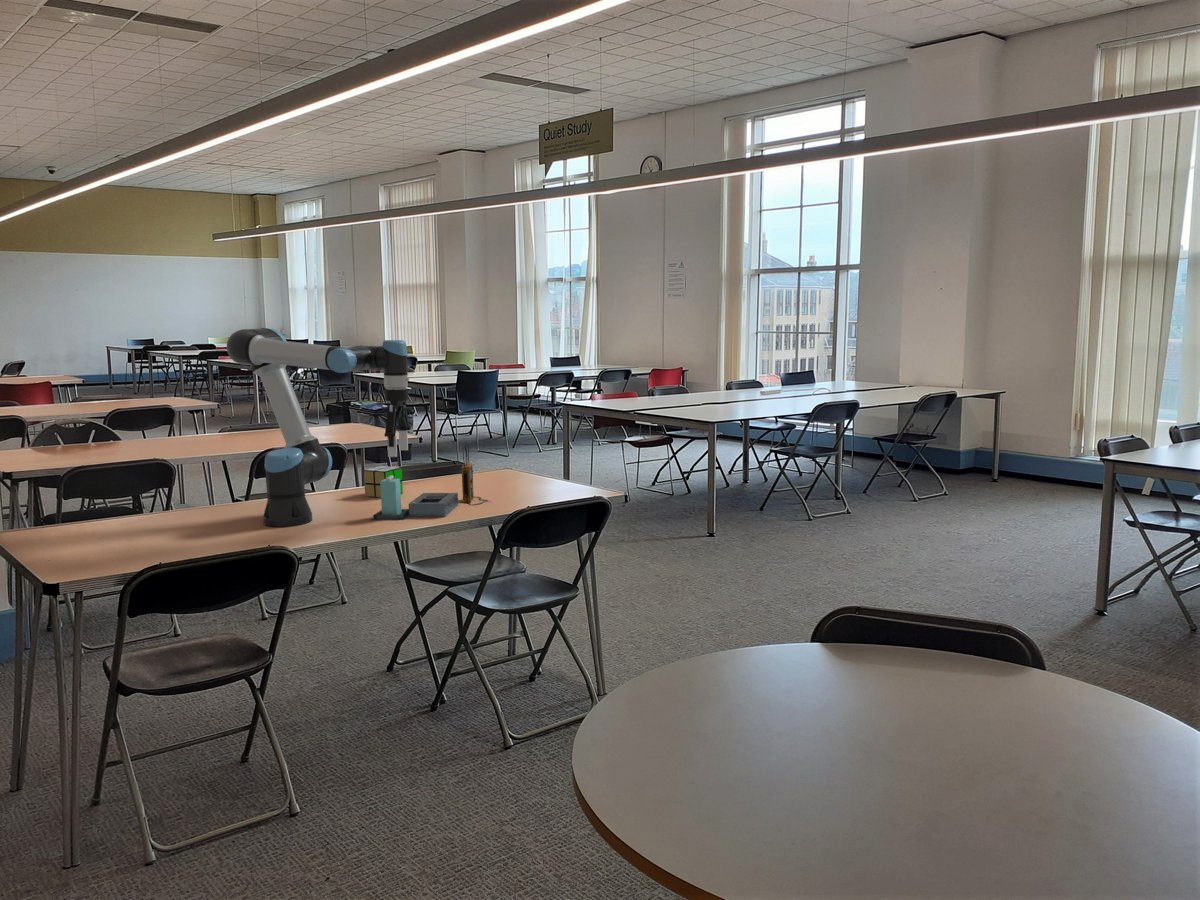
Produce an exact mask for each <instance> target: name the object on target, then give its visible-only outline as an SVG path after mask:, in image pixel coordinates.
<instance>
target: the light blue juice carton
mask: <svg viewBox="0 0 1200 900" xmlns="http://www.w3.org/2000/svg"><path fill="white" fill-rule="evenodd" d="M380 487H381V498H380V499H381V500H380V502H381V503H380V504H381V510H382V515H386V514H400V513H402V509H403V508H402V496H401V495H402V494H401V491H400V479H394V476H389V477H386V479H384V480H382V481H381V482H380Z"/></svg>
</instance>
